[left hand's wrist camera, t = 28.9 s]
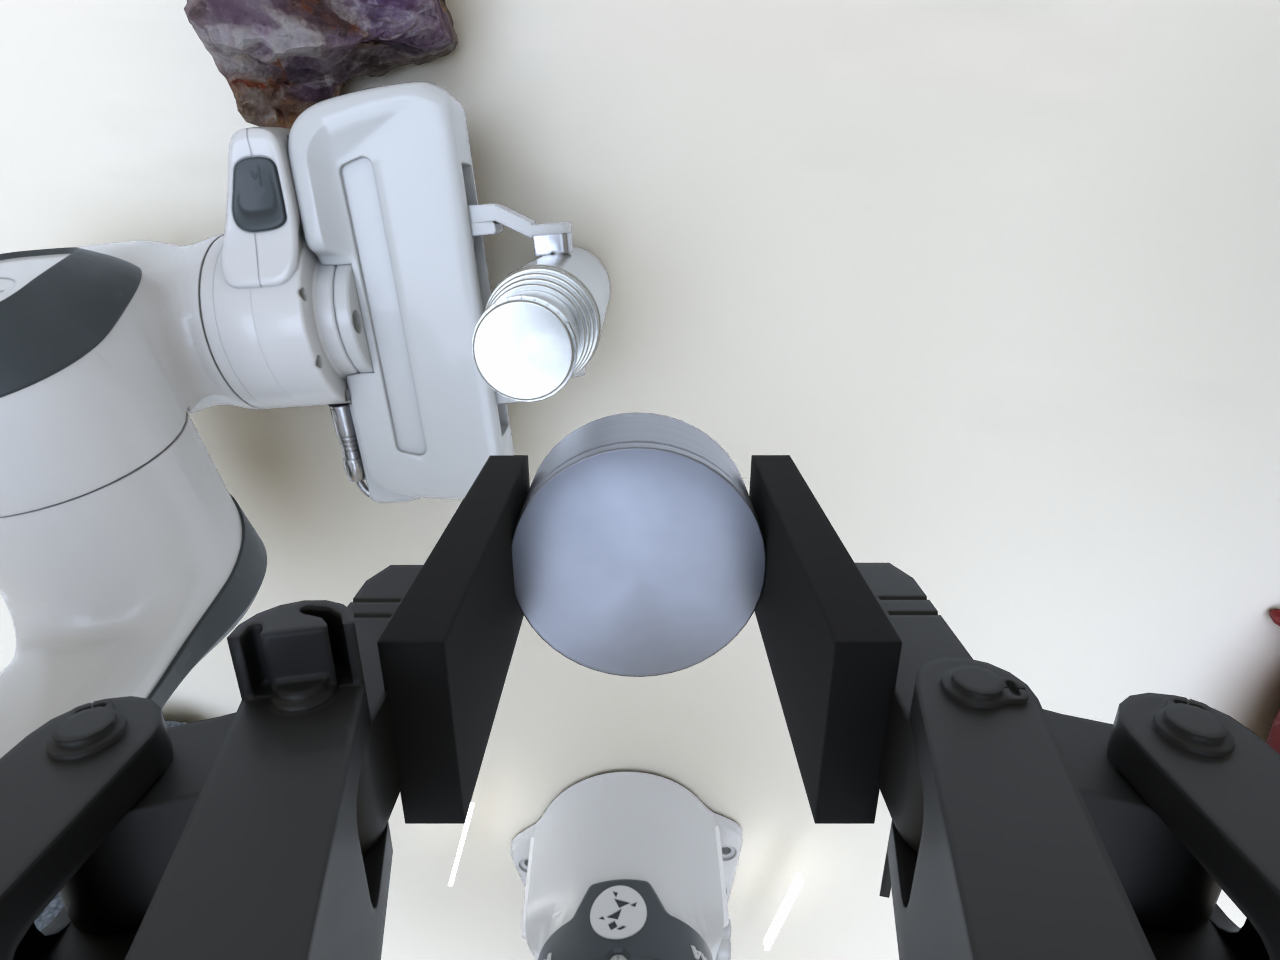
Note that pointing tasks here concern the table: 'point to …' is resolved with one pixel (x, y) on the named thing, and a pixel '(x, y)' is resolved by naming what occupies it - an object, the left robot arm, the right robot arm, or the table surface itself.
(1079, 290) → the table surface
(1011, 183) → the table surface
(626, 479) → the cap
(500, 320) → the bottle
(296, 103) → the rock
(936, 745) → the left robot arm
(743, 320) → the table surface
